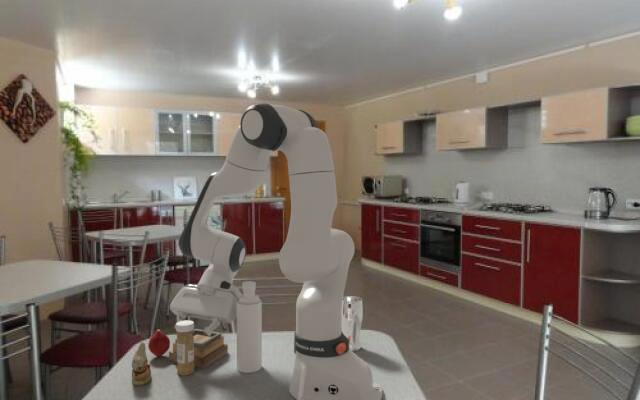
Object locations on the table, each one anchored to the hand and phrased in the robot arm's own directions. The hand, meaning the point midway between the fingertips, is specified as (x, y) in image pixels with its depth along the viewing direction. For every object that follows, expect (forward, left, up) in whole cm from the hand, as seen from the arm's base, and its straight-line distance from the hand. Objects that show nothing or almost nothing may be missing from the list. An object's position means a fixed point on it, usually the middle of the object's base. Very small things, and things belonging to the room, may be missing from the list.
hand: (191, 332), depth 120 cm
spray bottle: (-14, -6, -10) cm, 18 cm away
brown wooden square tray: (+3, -7, -10) cm, 12 cm away
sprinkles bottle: (0, +3, -10) cm, 10 cm away
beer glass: (-35, -30, -10) cm, 47 cm away
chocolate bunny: (+7, +11, -10) cm, 16 cm away
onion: (+13, -2, -10) cm, 17 cm away
